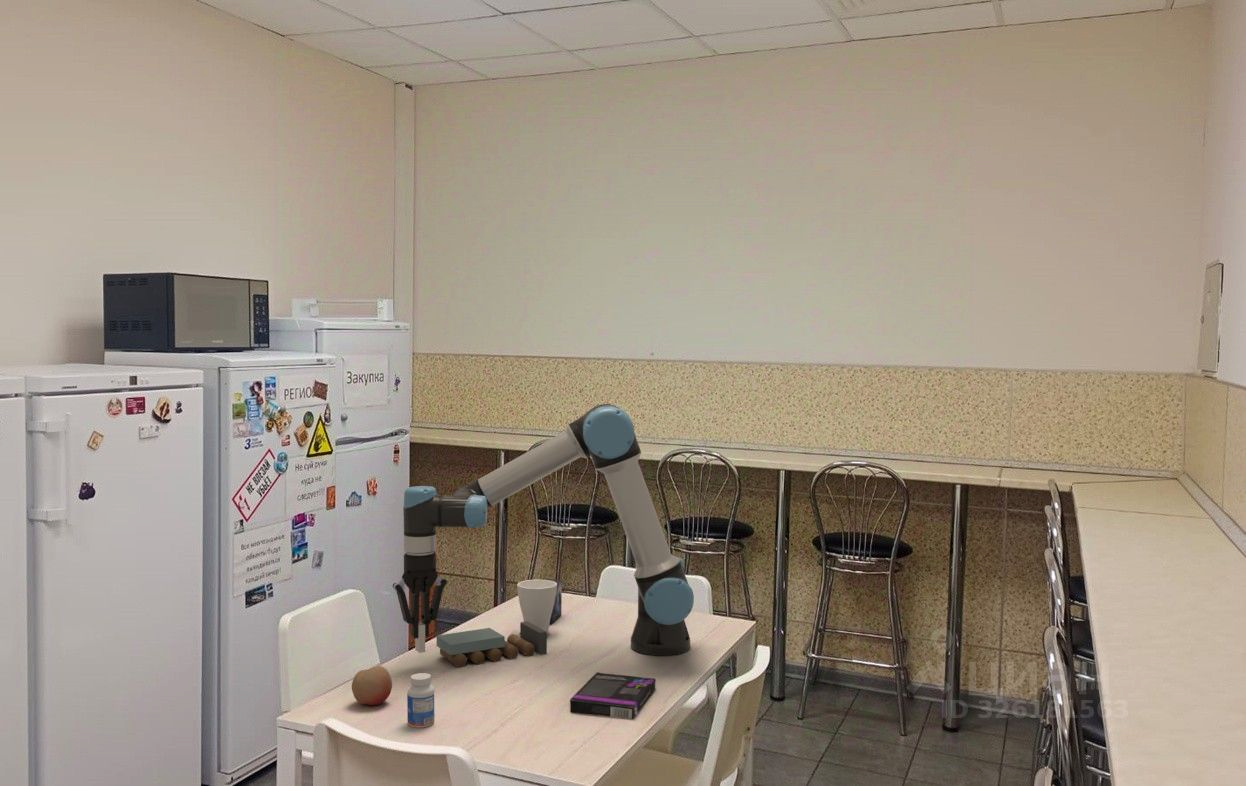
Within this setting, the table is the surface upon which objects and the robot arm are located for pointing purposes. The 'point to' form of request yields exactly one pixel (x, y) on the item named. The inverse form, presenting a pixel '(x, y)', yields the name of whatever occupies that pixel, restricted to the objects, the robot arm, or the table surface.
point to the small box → (556, 601)
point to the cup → (537, 601)
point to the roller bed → (493, 652)
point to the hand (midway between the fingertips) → (420, 650)
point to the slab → (470, 641)
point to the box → (613, 695)
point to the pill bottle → (420, 701)
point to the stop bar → (534, 636)
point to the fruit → (372, 686)
